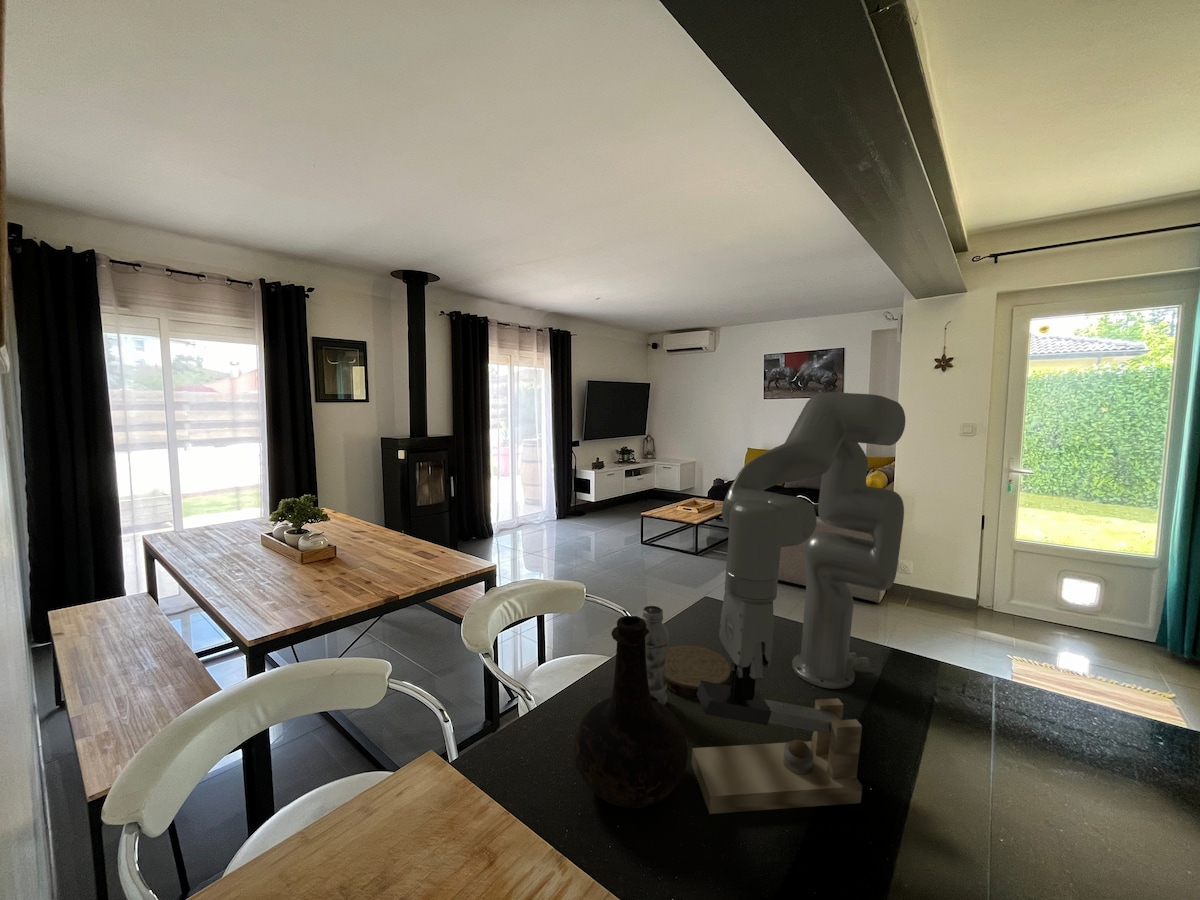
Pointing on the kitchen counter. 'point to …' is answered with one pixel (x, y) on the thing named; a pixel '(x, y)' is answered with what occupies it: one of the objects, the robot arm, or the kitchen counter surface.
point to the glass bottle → (631, 732)
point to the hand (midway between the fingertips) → (741, 696)
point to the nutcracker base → (783, 770)
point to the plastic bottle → (656, 652)
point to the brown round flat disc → (694, 669)
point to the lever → (763, 710)
